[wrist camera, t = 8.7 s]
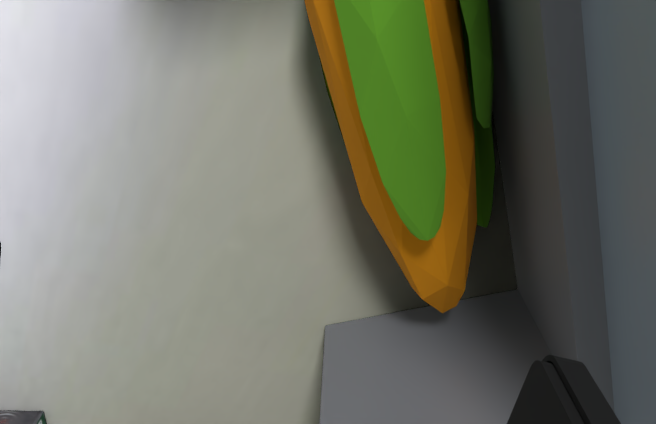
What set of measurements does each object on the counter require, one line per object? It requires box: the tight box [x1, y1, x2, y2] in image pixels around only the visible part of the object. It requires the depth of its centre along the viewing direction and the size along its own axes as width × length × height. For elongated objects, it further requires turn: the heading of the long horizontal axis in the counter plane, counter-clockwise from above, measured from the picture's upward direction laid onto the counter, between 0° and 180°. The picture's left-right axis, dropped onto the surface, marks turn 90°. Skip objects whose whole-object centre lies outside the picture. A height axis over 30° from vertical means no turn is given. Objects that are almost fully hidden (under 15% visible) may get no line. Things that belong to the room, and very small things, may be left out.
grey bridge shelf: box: [320, 0, 615, 424], centre depth 25 cm, size 31×12×10 cm, turn 13°
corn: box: [304, 0, 495, 313], centre depth 27 cm, size 7×8×20 cm
